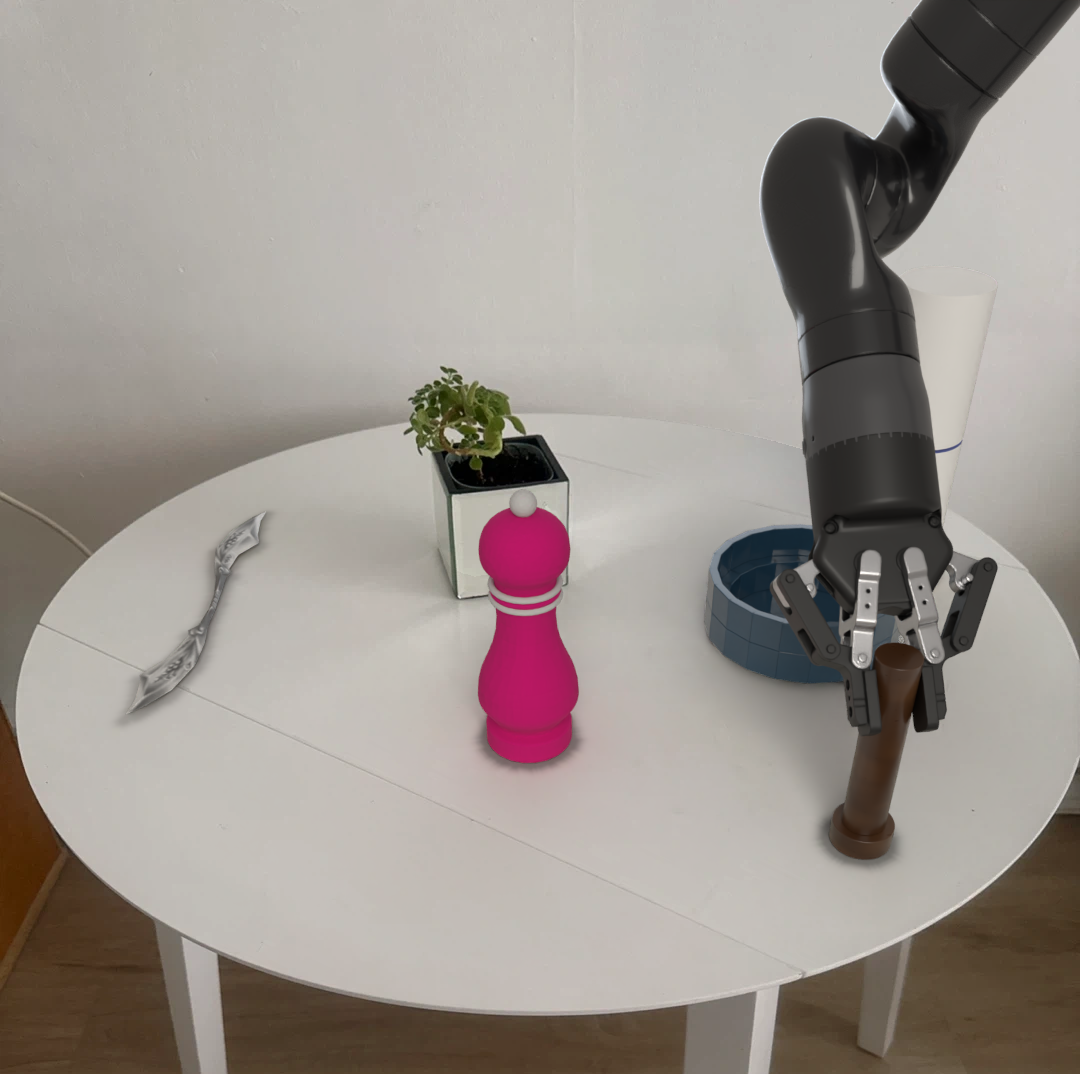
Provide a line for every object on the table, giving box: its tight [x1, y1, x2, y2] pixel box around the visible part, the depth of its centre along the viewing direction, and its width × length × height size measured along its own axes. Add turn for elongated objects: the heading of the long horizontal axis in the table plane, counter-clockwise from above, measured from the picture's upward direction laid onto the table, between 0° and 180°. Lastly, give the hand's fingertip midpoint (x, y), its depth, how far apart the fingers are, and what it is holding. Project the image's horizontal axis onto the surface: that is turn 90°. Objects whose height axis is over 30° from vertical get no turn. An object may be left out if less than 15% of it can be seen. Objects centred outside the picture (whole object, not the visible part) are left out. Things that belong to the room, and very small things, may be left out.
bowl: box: [703, 523, 901, 685], centre depth 93 cm, size 15×15×6 cm
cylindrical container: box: [899, 265, 999, 528], centre depth 96 cm, size 7×7×25 cm
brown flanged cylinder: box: [828, 642, 924, 861], centre depth 72 cm, size 4×4×15 cm
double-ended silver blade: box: [125, 510, 267, 715], centre depth 100 cm, size 32×1×5 cm
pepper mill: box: [477, 488, 580, 764], centre depth 79 cm, size 7×7×20 cm
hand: (899, 731), depth 68 cm, fingers closed on brown flanged cylinder, 3 cm apart
